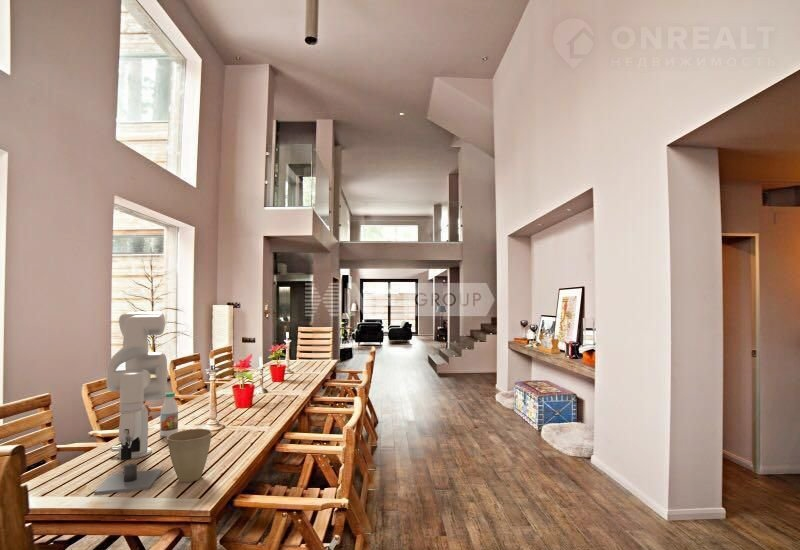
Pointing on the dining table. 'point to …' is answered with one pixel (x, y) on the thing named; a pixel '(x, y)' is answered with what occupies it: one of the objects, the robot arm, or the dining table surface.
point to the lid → (129, 480)
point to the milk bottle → (169, 416)
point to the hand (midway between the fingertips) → (130, 455)
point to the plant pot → (189, 452)
